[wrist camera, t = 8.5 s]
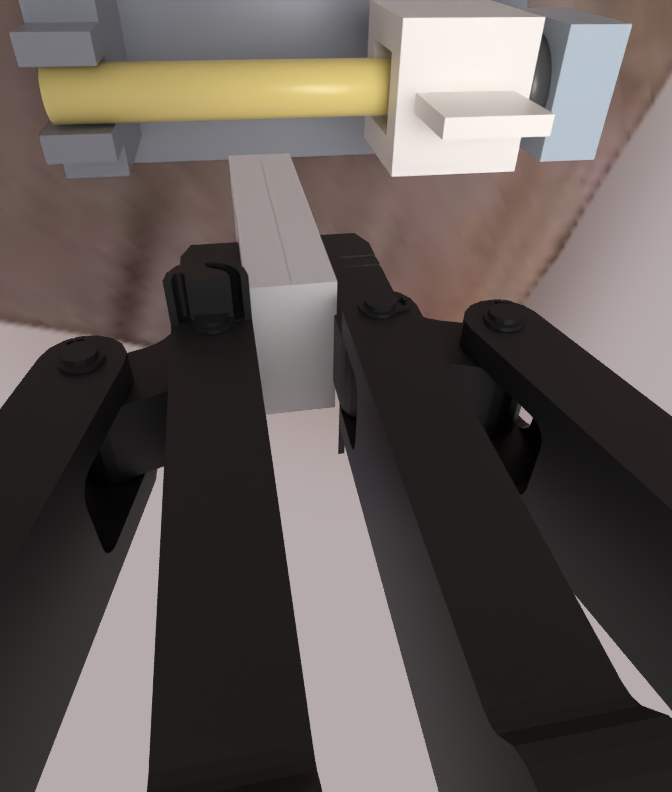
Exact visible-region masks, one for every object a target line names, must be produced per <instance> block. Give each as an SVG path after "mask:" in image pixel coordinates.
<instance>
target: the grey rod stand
mask: <svg viewBox="0 0 672 792" xmlns="http://www.w3.org/2000/svg"><path fill="white" fill-rule="evenodd" d="M18 1H19V5H20V8H21V12H22V16H23V19H24V23H23V24H21V25H20V26H18V27H16V28H15V29H13V30H11V31H10V32H9V35H10V39H11V42H12V46H13V49H14V53H15V56H16V59H17V63H18V66H19V67H37V71H38V78H39V86H40V92H41V96H42V100H43V104H44V107H45V110H46V113H47V115H48V117H49V119H50V121H49V123H48V124H47V125H46V127H45V128H44V129H43V131H42V132H41V133H40V135H39V139H40V142H41V146H42V149H43V153H44V156H45V160H46V163H47V165H48V164H63V166H64V170H65V174H66V177H67V179H69V178H93V177H117V176H130V175H131V171H132V168H133V164H134V163H151V162H177V161H203V160H229V158H228V156H232V155H256V154H280V153H289V154H290V157H308V156H334V155H360V154H375V153H374V151H373V150H372V148H371V147H370V145H369V144H368V143H367V141H366V140H365V138H364V125H365V116H381V115H388V106H389V91H390V76H391V61H392V57H384V58H367V56H368V32H369V9H370V0H18ZM491 1H495V2H498V3H501V4H504V5H508V6H511V7H514V8H518V9H521V10H524V11H527V12H531V13H534V14H537V15H540V16H544V17H546V18H545V23H544V28H543V33H542V38H541V42H540V47H539V52H538V57H537V62H536V67H535V72H534V77H533V82H532V87H531V91H530V96H529V100H531V101H533V102H534V103H536V104H538V105H540V106H541V107H543V108H545V109H547V110H548V111H550V112H552V113H554V114H555V117H554V121H553V125H552V130H551V134H550V136H545V137H521V141H520V145H519V146H520V147H521V148H522V149H524V150H525V151H526V152H528V153H529V154H530V155H532V156H533V157H534V158H536V159H537V160H538V161H540V162H543V161H567V160H591V159H594V157H595V154H596V150H597V147H598V143H599V140H600V136H601V133H602V129H603V126H604V122H605V119H606V115H607V112H608V108H609V105H610V101H611V98H612V94H613V91H614V87H615V84H616V80H617V77H618V73H619V69H620V66H621V62H622V59H623V55H624V52H625V48H626V45H627V41H628V38H629V34H630V31H631V27H632V24H630V23H627V22H623V21H619V20H615V19H611V18H607V17H604V16H600V15H596V14H592V13H588V12H584V11H580V10H577V9H573V8H527V2H528V0H491Z"/></svg>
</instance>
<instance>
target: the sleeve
mask: <svg viewBox="0 0 672 792" xmlns="http://www.w3.org/2000/svg"><path fill="white" fill-rule="evenodd" d="M545 18H546V17H544V16H540V15H537V14H534V13H531V12H527V11H524V10H521V9H518V8H514V7H511V6H508V5H504V4H501V3H498V2H495V1H491V0H370V9H369V32H368V56H367V58H384V57H392V61H391V76H390V91H389V106H388V115H381V116H365V125H364V138H365V140H366V141H367V143H368V144H369V145H370V147H371V148H372V150H373V151H374V153H375V154H376V155H377V157H378V158H379V160H380V161H381V162H382V164H383V165H384V167H385V168H386V170H387V171H388V172H389V174H390V175H391V177H396V176H418V175H441V174H464V173H486V172H509V171H514V170H515V165H516V160H517V155H518V150H519V145H520V141H521V137H545V136H550V134H551V130H552V125H553V121H554V117H555V114H554V113H552V112H550V111H548V110H547V109H545V108H543V107H541V106H540V105H538V104H536V103H534V102H533V101H531V100H529V96H530V91H531V87H532V82H533V77H534V72H535V67H536V62H537V57H538V52H539V47H540V42H541V38H542V33H543V28H544V23H545Z"/></svg>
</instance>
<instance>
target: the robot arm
mask: <svg viewBox="0 0 672 792" xmlns="http://www.w3.org/2000/svg"><path fill="white" fill-rule="evenodd" d="M228 158H229V169H230V179H231V189H232V199H233V210H234V220H235V230H236V240H237V242H234V243H218V244H202V245H191V246H190V247H189V248H188V249H187V250H186V252H185V253H184V254H183V255H182V256H181V261H180V265H178V266H176V267H174V268H173V269H171V270H170V271H169V272H167V273H166V275H165V277H164V279H163V286H164V291H165V296H166V301H167V306H168V312H169V317H170V322H171V334H170V335H169V336H167V337H166V338H165V339H163V340H162V341H160V342H158V343H156V344H154V345H151V346H149V347H146V348H143V349H140V350H136V351H133V352H129V353H127V352H126V350H125V348H124V346H123V344H122V343H120V342H118V341H116V340H115V339H113V338H109V337H103V336H81V337H76V338H71V339H68V340H65V341H63V342H61V343H59V344H57V345H55V346H53V347H51V348H49V349H48V350H47V351H46V352H45V353H44V354H42V355H41V356H40V357H39V359H38V360H37V361H36V362H35V364H34V365H33V366H32V367H31V369H30V370H29V372H28V373H27V374H26V375H25V377H24V378H23V379H22V381H21V382H20V384H19V385H18V386H17V387H16V389H15V390H14V391H13V393H12V394H11V396H10V397H9V398H8V399H7V401H6V402H5V403H4V405H3V406H2V407H1V409H0V792H35V790H36V787H37V785H38V782H39V779H40V777H41V774H42V772H43V769H44V767H45V764H46V761H47V759H48V756H49V754H50V751H51V748H52V746H53V743H54V740H55V738H56V736H57V733H58V730H59V728H60V725H61V723H62V720H63V718H64V715H65V712H66V710H67V707H68V705H69V702H70V700H71V697H72V694H73V692H74V689H75V687H76V684H77V682H78V679H79V676H80V674H81V671H82V669H83V666H84V663H85V661H86V658H87V656H88V653H89V651H90V648H91V645H92V643H93V640H94V638H95V635H96V633H97V630H98V627H99V625H100V622H101V620H102V617H103V615H104V612H105V609H106V606H107V604H108V601H109V599H110V597H111V594H112V591H113V589H114V586H115V584H116V581H117V578H118V576H119V573H120V571H121V568H122V566H123V563H124V560H125V558H126V555H127V553H128V550H129V548H130V545H131V542H132V540H133V537H134V535H135V532H136V529H137V527H138V524H139V522H140V519H141V517H142V514H143V512H144V509H145V506H146V504H147V501H148V499H149V496H150V494H151V491H152V488H153V486H154V483H155V480H156V473H157V469H158V468H160V467H163V466H164V479H163V499H162V519H161V539H160V559H159V579H158V599H157V617H156V619H157V620H156V637H155V657H154V677H153V696H152V717H151V736H150V756H149V775H148V786H147V792H322V788H321V784H320V780H319V777H318V772H317V768H316V762H315V756H314V750H313V744H312V736H311V729H310V722H309V716H308V708H307V701H306V694H305V687H304V680H303V673H302V666H301V659H300V652H299V645H298V638H297V631H296V624H295V617H294V610H293V603H292V596H291V588H290V581H289V576H288V567H287V561H286V553H285V547H284V539H283V532H282V525H281V518H280V512H279V504H278V497H277V491H276V484H275V477H274V469H273V462H272V456H271V449H270V441H269V435H268V427H267V420H266V414H274V413H283V412H293V411H302V410H312V409H321V408H330V407H335V388H336V392H337V395H338V399H339V402H340V410H339V412H340V413H339V447H338V449H339V450H338V454H341V453H344V446H345V448H346V452H347V455H348V459H349V463H350V466H351V470H352V474H353V477H354V481H355V485H356V488H357V492H358V496H359V500H360V503H361V507H362V511H363V514H364V518H365V522H366V525H367V529H368V533H369V536H370V540H371V544H372V547H373V551H374V555H375V558H376V562H377V566H378V570H379V573H380V577H381V581H382V584H383V588H384V592H385V595H386V599H387V603H388V606H389V610H390V614H391V618H392V621H393V624H394V629H395V632H396V636H397V639H398V643H399V646H400V651H401V654H402V658H403V662H404V665H405V669H406V673H407V676H408V680H409V684H410V688H411V691H412V695H413V699H414V702H415V706H416V709H417V713H418V717H419V721H420V724H421V728H422V732H423V735H424V739H425V743H426V746H427V750H428V753H429V757H430V761H431V765H432V769H433V772H434V776H435V780H436V783H437V787H438V791H439V792H672V718H671V717H669V716H668V715H666V714H663V713H660V712H658V711H655V710H652V709H649V708H647V707H644V706H641V705H640V704H639V703H638V702H637V701H636V700H635V699H634V698H633V697H632V696H631V695H630V694H629V692H628V691H627V689H626V687H625V686H624V685H623V683H622V682H621V680H620V678H619V676H618V674H617V672H616V670H615V669H614V667H613V665H612V663H611V661H610V659H609V658H608V656H607V654H606V652H605V650H604V648H603V646H602V645H601V643H600V641H599V639H598V637H597V636H596V634H595V632H594V630H593V628H592V626H591V624H590V623H589V621H588V619H587V617H586V615H585V613H584V612H583V610H582V608H581V606H580V604H579V603H578V601H577V599H576V597H575V595H576V596H577V598H578V599H579V600H580V601H581V602H582V604H583V605H584V606H585V607H586V608H587V609H588V611H589V612H590V613H591V614H592V616H593V617H594V618H595V619H596V620H597V621H598V623H599V624H600V625H601V626H602V627H603V629H604V630H605V631H606V632H607V633H608V635H609V636H610V637H611V638H612V639H613V641H614V642H615V643H616V644H617V646H618V647H619V648H620V649H621V650H622V652H623V653H624V654H625V655H626V656H627V658H628V659H629V660H630V661H631V662H632V664H633V665H634V666H635V667H636V668H637V670H638V671H639V672H640V673H641V674H642V675H643V677H644V678H645V679H646V680H647V681H648V683H649V684H650V685H651V686H652V687H653V688H654V690H655V691H656V692H657V693H658V695H659V696H660V697H661V698H662V699H663V701H664V702H665V703H666V704H667V705H668V706H669V708H670V709H671V710H672V416H670V415H669V414H668V413H667V412H665V411H664V410H663V409H661V408H660V407H659V406H657V405H656V404H655V403H653V402H652V401H651V400H649V399H648V398H647V397H646V396H644V395H643V394H642V393H640V392H639V391H638V390H637V389H635V388H634V387H633V386H631V385H630V384H629V383H627V382H626V381H625V380H623V379H622V378H621V377H620V376H618V375H617V374H616V373H614V372H613V371H612V370H610V369H609V368H608V367H606V366H605V365H604V364H602V363H601V362H600V361H599V360H597V359H596V358H595V357H593V356H592V355H591V354H589V353H588V352H587V351H585V350H584V349H583V348H581V347H580V346H579V345H578V344H576V343H575V342H574V341H572V340H571V339H570V338H568V337H567V336H566V335H565V334H563V333H562V332H561V331H559V330H558V329H557V328H555V327H554V326H553V325H552V324H550V323H549V322H548V321H546V320H545V319H544V318H542V317H541V316H540V315H538V314H537V313H536V312H534V311H532V310H531V309H529V308H527V307H525V306H524V305H520V304H517V303H514V302H512V301H508V300H503V301H502V300H488V301H480V302H478V303H475V304H473V305H471V306H470V307H469V308H468V309H467V310H466V311H465V314H464V319H463V323H459V322H449V321H440V320H434V319H428V318H425V317H423V316H422V314H421V312H420V310H419V308H418V307H417V305H416V304H415V303H414V302H413V301H412V300H411V299H410V298H409V297H407V296H405V295H403V294H401V293H399V292H394V291H393V289H392V287H391V286H390V284H389V282H388V280H387V278H386V276H385V274H384V272H383V270H382V268H381V266H380V265H379V262H378V260H377V258H376V257H375V254H374V252H373V250H372V248H371V246H370V244H369V243H368V242H367V241H365V240H364V239H362V238H361V237H359V236H358V235H356V234H355V233H348V234H332V235H320V234H319V231H318V229H317V226H316V223H315V221H314V218H313V215H312V213H311V210H310V207H309V205H308V202H307V199H306V197H305V194H304V191H303V189H302V186H301V183H300V181H299V178H298V175H297V173H296V170H295V167H294V165H293V162H292V159H291V157H290V154H289V153H280V154H256V155H232V156H228ZM521 406H522V407H523V408H524V409H525V410H526V411H527V412H528V413H529V414H530V415H531V416H532V417H533V419H532V422H531V424H530V425H529V424H528V423H526V422H525V421H524V420H522V418H521V417H520V416H519V412H520V409H521ZM574 594H575V595H574Z"/></svg>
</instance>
